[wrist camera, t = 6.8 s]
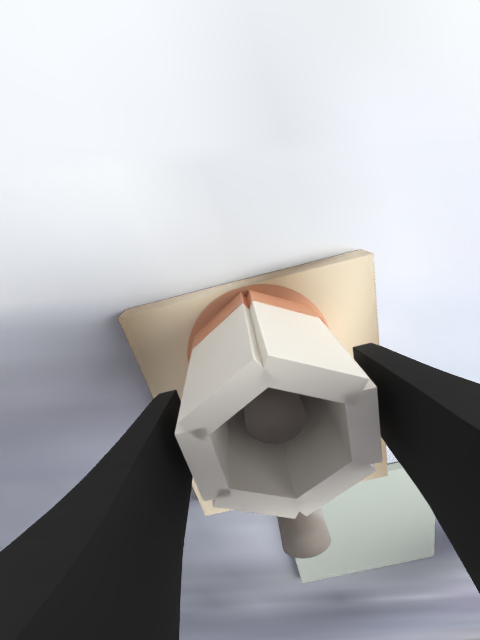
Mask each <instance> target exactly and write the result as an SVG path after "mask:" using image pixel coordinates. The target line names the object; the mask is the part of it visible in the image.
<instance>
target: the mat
mask: <svg viewBox="0 0 480 640" xmlns="http://www.w3.org/2000/svg"><path fill="white" fill-rule="evenodd" d="M387 469H388V476H385V477H380V478H376V479H371V480H367V481H362V482H359V483H357V484H356V485H354V486H352V487H351V488H349V489H348V490H346V491H345V492H343V493H342V494H340V495H339V496H337V497H336V498H334V499H332V500H331V501H329V502H328V503H326V504H325V505H323V506H322V507H321V509H322V513H323V516H324V519H325V522H326V525H327V528H328V531H329V535H330V538H331V543H330V546H329V547H328V549H327V550H326V551H324V552H323V553H321V554H320V555H317V556H315V557H311V558H305V559H301V558H295V560H296V563H297V567H298V570H299V574H300V577H301V581H302V584H303V583H308V582H312V581H317V580H322V579H327V578H332V577H337V576H341V575H346V574H351V573H356V572H361V571H366V570H370V569H375V568H380V567H385V566H390V565H395V564H399V563H404V562H409V561H414V560H419V559H424V558H428V557H433V556H434V545H435V515H434V513H433V511H432V510H431V508H430V506H429V505H428V503H427V502H426V500H425V499H424V497H423V496H422V494H421V493H420V491H419V490H418V488H417V487H416V485H415V484H414V482H413V481H412V480H411V478H410V477H409V475H408V474H407V473H406V471H405V470H404V468H403V467H402V466H401V464H400V463H399V462H397V463H393V464H388V465H387Z"/></svg>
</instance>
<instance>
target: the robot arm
mask: <svg viewBox="0 0 480 640" xmlns="http://www.w3.org/2000/svg"><path fill="white" fill-rule="evenodd" d="M353 357H354V360H355V361H356V362H357V363H358V365H359V366H360V367H361V368H362V370H363V371H364V372H365V373H366V374H367V376H368V377H369V378H370V379H371V380H372V382H373V383H374V384H375V385H376V387H377V395H378V408H379V422H380V435H381V437H382V439H383V440H384V442H385V443H386V445H387V446H388V447H389V449H390V450H391V452H392V453H393V454H394V456H395V457H396V459H397V460H398V461H399V463H400V464H401V466H402V467H403V468H404V470H405V471H406V473H407V474H408V475H409V477H410V478H411V480H412V481H413V482H414V484H415V485H416V487H417V488H418V490H419V491H420V493H421V494H422V496H423V497H424V499H425V500H426V502H427V503H428V505H429V506H430V508H431V510H432V511H433V513H434V515H435V517H436V518H437V520H438V522H439V523H440V525H441V527H442V528H443V530H444V532H445V533H446V535H447V537H448V539H449V540H450V542H451V544H452V545H453V547H454V549H455V551H456V553H457V554H458V556H459V558H460V560H461V561H462V563H463V565H464V567H465V568H466V570H467V572H468V574H469V575H470V577H471V579H472V581H473V582H474V584H475V586H476V588H477V590H478V591H479V593H480V384H478V383H475V382H473V381H470V380H467V379H464V378H461V377H458V376H455V375H452V374H449V373H447V372H444V371H441V370H439V369H436V368H434V367H431V366H428V365H426V364H423V363H421V362H418V361H416V360H413V359H411V358H409V357H406V356H404V355H401V354H399V353H397V352H394V351H392V350H389V349H387V348H384V347H382V346H379V345H377V344H374V343H367V344H363V345H359V346H355V347H353ZM180 405H181V400H180V398H179V395H178V393H177V390H172V391H168V392H163V393H159V394H158V395H157V396H156V397H155V398H154V399H153V400H152V402H151V403H150V404H149V405H148V406H147V407H146V409H145V410H144V411H143V412H142V413H141V415H140V416H139V417H138V418H137V419H136V421H135V422H134V423H133V424H132V425H131V427H130V428H129V429H128V430H127V431H126V432H125V434H124V435H123V436H122V437H121V438H120V440H119V441H118V442H117V443H116V444H115V445H114V446H113V447H112V448H111V449H110V451H109V452H108V453H107V454H106V455H105V456H104V457H103V458H102V459H101V460H100V461H99V463H98V464H97V465H96V466H95V467H94V468H93V469H92V470H91V471H90V472H89V473H88V474H87V475H86V476H85V477H84V478H83V479H82V480H81V481H80V482H79V483H78V484H77V485H76V486H75V487H74V488H73V489H72V490H71V491H70V492H69V493H68V494H67V495H66V496H65V497H63V498H62V499H61V500H60V501H59V502H58V503H57V504H56V505H55V506H54V507H53V508H52V509H50V510H49V511H48V512H47V513H46V514H45V515H43V516H42V517H41V518H40V519H39V520H38V521H36V522H35V523H34V524H33V525H32V526H31V527H29V528H28V529H27V530H26V531H25V532H24V533H22V534H21V535H20V536H19V537H18V538H17V539H15V540H14V541H13V542H12V543H11V544H9V545H8V546H7V547H6V548H5V549H3V550H2V551H1V552H0V640H179V622H180V595H181V574H182V556H183V546H184V537H185V530H186V523H187V516H188V508H189V501H190V494H191V487H192V479H193V476H192V473H191V471H190V469H189V467H188V464H187V462H186V460H185V457H184V455H183V453H182V450H181V448H180V446H179V444H178V441H177V439H176V437H175V429H176V425H177V420H178V415H179V410H180Z"/></svg>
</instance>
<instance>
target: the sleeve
mask: <svg viewBox="0 0 480 640" xmlns="http://www.w3.org/2000/svg"><path fill="white" fill-rule="evenodd" d="M268 387H270V388H274V389H279V390H283V391H288V392H293V393H297V394H299V396H300V398H301V401H302V403H303V406H304V409H305V411H306V423H305V425H304V427H303V429H302V430H301V432H300V433H299V434H298V435H297V436H295V437H294V438H292V439H290V440H288V441H286V442H282V443H277V444H269V443H264V442H261V441H258V440H256V439H255V438H253V437H252V436H251V435H250V434H249V432H248V431H247V428H246V425H245V416H244V406H246V405H247V404H248V403H249V402H251V401H252V400H253V399H254V398H256V397H257V396H258V395H259V394H261V393H262V392H263V391H264V390H265V389H267V388H268ZM175 437H176V439H177V441H178V444H179V446H180V448H181V450H182V453H183V455H184V457H185V460H186V462H187V464H188V467H189V469H190V471H191V473H192V476H193V478H194V480H195V483H196V485H197V487H198V490H199V492H200V494H201V496H202V499H203V501H208V500H213V504H212V507H216V508H223V509H230V510H237V511H244V512H251V513H258V514H265V515H272V516H279V517H286V518H293V519H295V518H296V516H297V515H298V513H299V512H301V513H302V514H304V515H305V516H308V515H309V514H311V513H312V512H314V511H316V510H317V509H319V508H320V507H322V506H323V505H325V504H326V503H328V502H329V501H331V500H332V499H334V498H336V497H337V496H339V495H340V494H342V493H343V492H345V491H346V490H348V489H349V488H351V487H352V486H354V485H356V484H357V483H359V482H360V481H362V480H363V479H365V478H366V477H368V476H369V475H371V474H372V473H374V472H376V471H377V470H376V468H375V466H374V465H373V464H375V463H379V462H382V449H381V435H380V422H379V408H378V395H377V387H376V385H375V384H374V383H373V382H372V380H371V379H370V378H369V377H368V376H367V374H366V373H365V372H364V371H363V370H362V368H361V367H360V366H359V365H358V363H357V362H356V361H355V360H354V359H353V357H352V356H351V355H350V354H349V353H348V351H347V350H346V349H345V348H344V346H343V345H342V344H341V343H340V342H339V340H338V339H337V338H336V337H335V336H334V334H333V333H332V332H331V331H330V329H329V328H328V327H327V326H326V323H325V322H324V321H323V320H322V319H321V317H320V316H319V315H318V314H317V313H316V312H315V311H314V310H313V308H312V307H311V306H308V305H304V304H300V303H297V302H293V301H289V300H285V299H282V298H278V297H274V296H270V295H267V294H263V293H259V292H255V291H252V290H249V291H248V294H247V297H245V296H244V295H243V294H242V293H241V292H240V293H239V294H238V295H237V296H236V297H235V298H234V299H232V300H231V301H230V302H229V303H228V304H227V305H226V306H225V307H224V308H223V309H222V310H221V311H220V312H219V313H218V314H217V315H215V316H214V317H213V318H212V319H211V320H210V321H209V322H208V323H207V324H206V325H205V326H204V327H203V328H202V329H201V330H199V331H198V332H197V333H196V334H195V336H194V341H193V344H192V349H191V353H190V362H189V367H188V371H187V376H186V381H185V386H184V391H183V396H182V400H181V405H180V410H179V415H178V420H177V425H176V429H175Z"/></svg>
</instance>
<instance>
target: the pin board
mask: <svg viewBox="0 0 480 640" xmlns="http://www.w3.org/2000/svg"><path fill="white" fill-rule="evenodd" d="M249 290H252V291H255V292H259V293H263V294H267V295H270V296H274V297H278V298H282V299H285V300H289V301H293V302H297V303H300V304H304V305H308V306H311V307H312V308H313V310H314V311H315V312H316V313H317V314H318V315H319V316H320V317H321V319H322V320H323V321H324V322H325V323H326V326H327V327H328V328H329V329H330V331H331V332H332V333H333V334H334V336H335V337H336V338H337V339H338V340H339V342H340V343H341V344H342V345H343V346H344V348H345V349H346V350H347V351H348V353H349V354H350V355H351V356H352V357H353V347H355V346H359V345H363V344H367V343H374V344H377V345H379V333H378V317H377V302H376V287H375V272H374V257H373V253H370V252H367V251H365V250H362V249H361V250H357V251H353V252H349V253H345V254H342V255H338V256H334V257H330V258H326V259H322V260H318V261H314V262H310V263H306V264H302V265H298V266H294V267H290V268H286V269H283V270H279V271H275V272H271V273H267V274H263V275H259V276H255V277H251V278H247V279H243V280H239V281H235V282H231V283H228V284H224V285H220V286H216V287H212V288H208V289H204V290H200V291H196V292H192V293H188V294H184V295H180V296H176V297H172V298H169V299H165V300H161V301H157V302H153V303H149V304H145V305H141V306H137V307H133V308H129V309H126V310H125V311H124V312H123V313H122V314H121V315H120V316H119V318H118V320H119V322H120V324H121V327H122V329H123V331H124V333H125V336H126V338H127V340H128V342H129V345H130V347H131V349H132V351H133V354H134V356H135V358H136V360H137V363H138V365H139V367H140V369H141V372H142V374H143V376H144V378H145V381H146V383H147V385H148V387H149V390H150V392H151V394H152V396H153V399H154V398H155V397H156V396H157V395H158V394H159V393H163V392H168V391H172V390H177V393H178V395H179V398H180V400H182V396H183V391H184V386H185V381H186V376H187V371H188V367H189V362H190V353H191V349H192V344H193V341H194V336H195V334H196V333H197V332H198V331H199V330H201V329H202V328H203V327H204V326H205V325H206V324H207V323H208V322H209V321H210V320H211V319H212V318H213V317H214V316H215V315H217V314H218V313H219V312H220V311H221V310H222V309H223V308H224V307H225V306H226V305H227V304H228V303H229V302H230V301H231V300H232V299H234V298H235V297H236V296H237V295H238V294H239V293H240V292H241V293H242V294H243V295H244V296H245V297H247V294H248V291H249ZM353 359H354V357H353ZM244 416H245V425H246V428H247V431H248V432H249V434H250V435H251V436H252V437H253V438H255V439H256V440H258V441H261V442H264V443H269V444H277V443H282V442H286V441H288V440H290V439H292V438H294V437H295V436H297V435H298V434H299V433H300V432H301V430H302V429H303V427H304V425H305V423H306V411H305V409H304V406H303V403H302V401H301V398H300V396H299V394H297V393H293V392H288V391H283V390H279V389H274V388H270V387H268V388H267V389H265V390H264V391H263V392H262V393H261V394H259V395H258V396H257V397H256V398H254V399H253V400H252V401H251V402H249V403H248V404H247V405H246V406H244ZM381 449H382V462H379V463H375V464H373V465H374V466H375V468H376V470H377V471H376V472H374V473H372V474H371V475H369V476H368V477H366V478H365V479H363V480H362V481H367V480H371V479H376V478H380V477H385V476H388V469H387V454H386V443H385V442H384V440H383V439H382V437H381ZM362 481H360V482H362ZM192 486H193V489H194V491H195V493H196V495H197V498H198V500H199V502H200V504H201V507H202V509H203V511H204V513H205V516H208V515H212V514H217V513H221V512H226V511H230V509H223V508H216V507H212V504H213V500H208V501H203V499H202V496H201V494H200V492H199V490H198V487H197V485H196V483H195V480H194V478H193V479H192ZM278 522H279V527H280V533H281V539H282V545H283V549H284V551H285V553H286V554H288V555H289V556H291V557H294V558H301V559H305V558H311V557H315V556H317V555H320V554H321V553H323V552H324V551H326V550H327V549H328V547H329V546H330V543H331V538H330V535H329V531H328V528H327V525H326V522H325V519H324V516H323V513H322V509H321V507H320V508H319V509H317V510H316V511H314V512H312V513H311V514H309V515H308V516H305V515H304V514H302V513H301V512H299V513H298V515H297V516H296V518H295V519H293V518H286V517H279V516H278Z"/></svg>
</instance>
